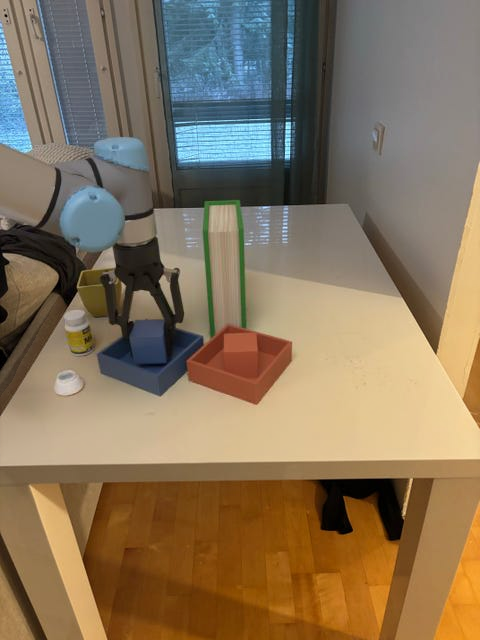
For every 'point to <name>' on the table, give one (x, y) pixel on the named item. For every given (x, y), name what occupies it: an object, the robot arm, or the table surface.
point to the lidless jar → (68, 383)
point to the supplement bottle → (78, 333)
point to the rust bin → (211, 374)
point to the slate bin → (149, 376)
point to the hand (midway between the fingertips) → (152, 352)
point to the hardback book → (224, 264)
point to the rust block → (241, 354)
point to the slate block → (148, 342)
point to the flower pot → (96, 291)
